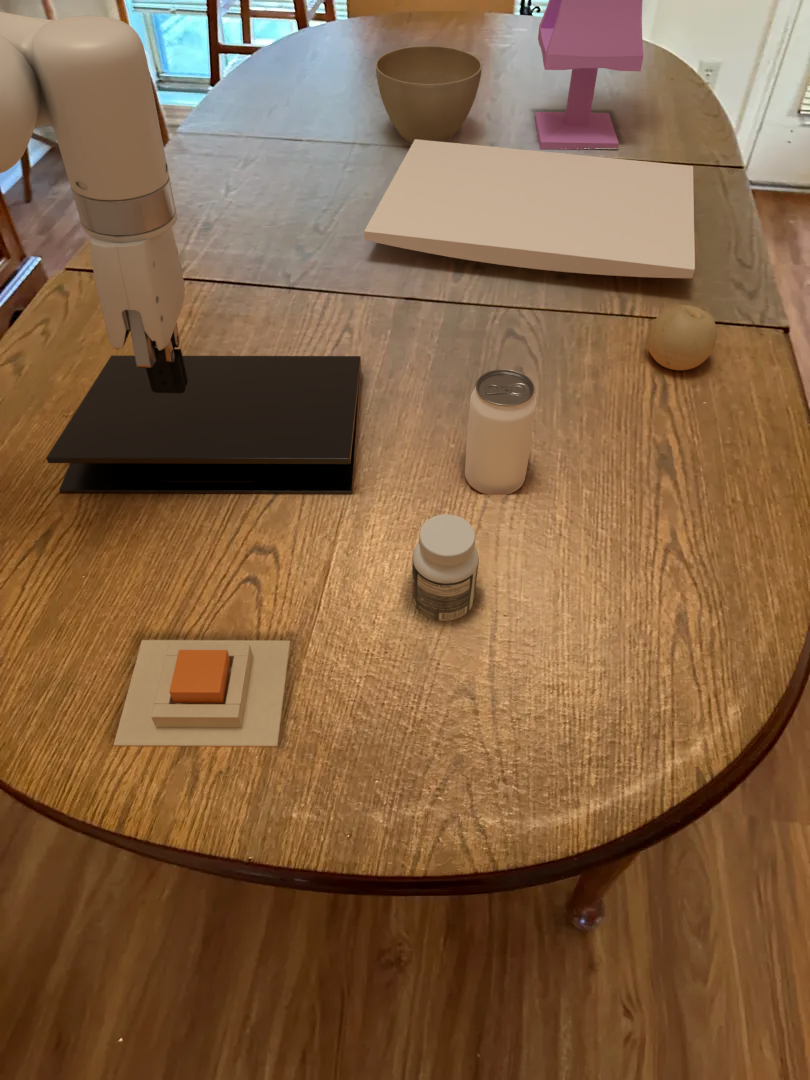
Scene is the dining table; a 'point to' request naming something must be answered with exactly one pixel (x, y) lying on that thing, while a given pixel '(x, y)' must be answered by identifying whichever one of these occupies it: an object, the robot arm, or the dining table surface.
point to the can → (499, 432)
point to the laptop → (214, 477)
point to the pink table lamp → (586, 65)
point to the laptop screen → (218, 413)
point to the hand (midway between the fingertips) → (170, 387)
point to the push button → (200, 676)
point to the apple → (682, 337)
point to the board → (540, 210)
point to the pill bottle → (445, 568)
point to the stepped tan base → (230, 724)
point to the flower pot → (428, 90)
